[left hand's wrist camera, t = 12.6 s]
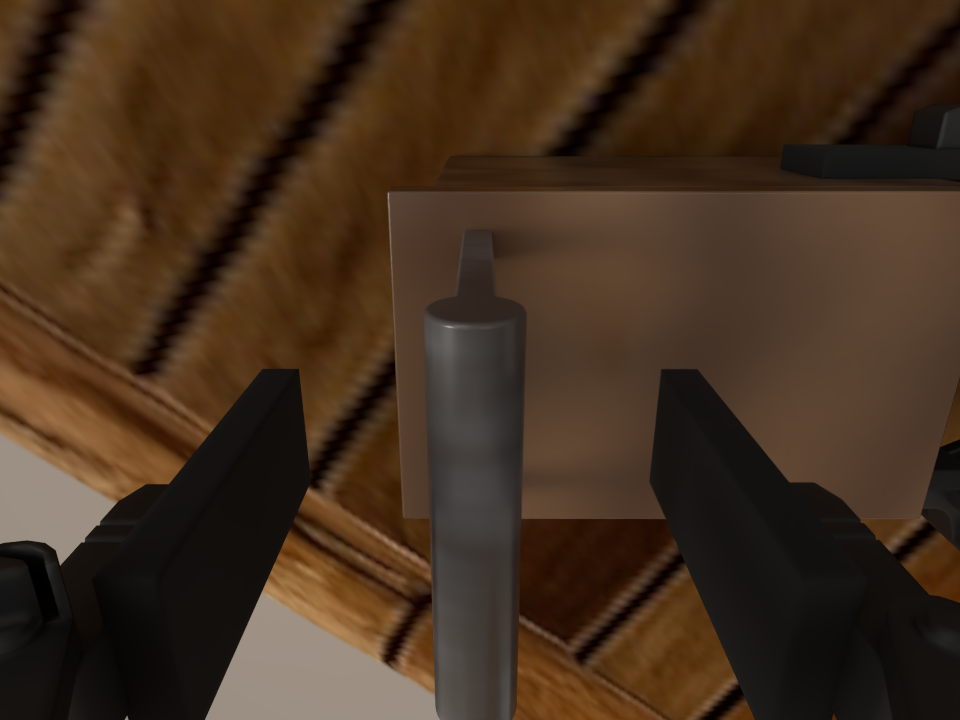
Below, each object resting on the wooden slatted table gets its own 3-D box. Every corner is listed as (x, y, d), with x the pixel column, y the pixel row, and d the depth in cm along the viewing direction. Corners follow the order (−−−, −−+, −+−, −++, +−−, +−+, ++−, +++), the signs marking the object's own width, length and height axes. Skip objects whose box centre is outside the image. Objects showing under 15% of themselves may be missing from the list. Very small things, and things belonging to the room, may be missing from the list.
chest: (452, 375, 29) (439, 500, 20) (449, 156, 26) (431, 185, 16) (768, 375, 29) (900, 501, 20) (806, 156, 26) (985, 186, 16)
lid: (406, 501, 20) (355, 773, 12) (391, 186, 16) (306, 266, 8) (901, 502, 20) (1187, 773, 12) (987, 186, 16) (1466, 266, 8)
